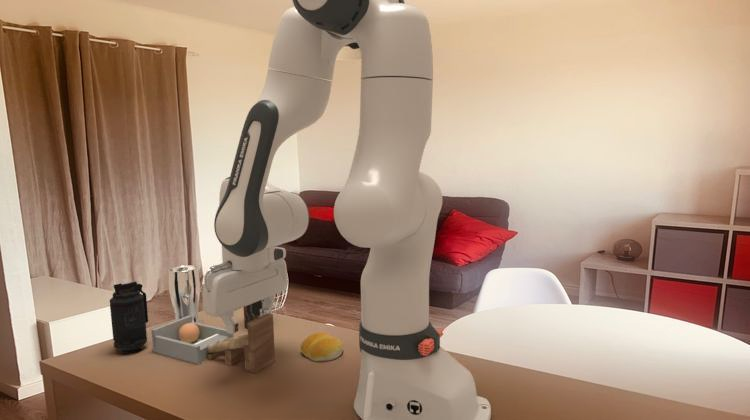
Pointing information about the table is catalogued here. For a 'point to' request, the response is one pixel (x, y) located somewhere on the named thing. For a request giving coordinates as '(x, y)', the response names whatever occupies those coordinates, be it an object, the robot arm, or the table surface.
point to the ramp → (248, 346)
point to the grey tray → (194, 352)
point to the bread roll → (321, 347)
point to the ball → (189, 333)
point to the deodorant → (252, 311)
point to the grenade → (129, 317)
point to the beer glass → (185, 291)
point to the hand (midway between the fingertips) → (249, 324)
